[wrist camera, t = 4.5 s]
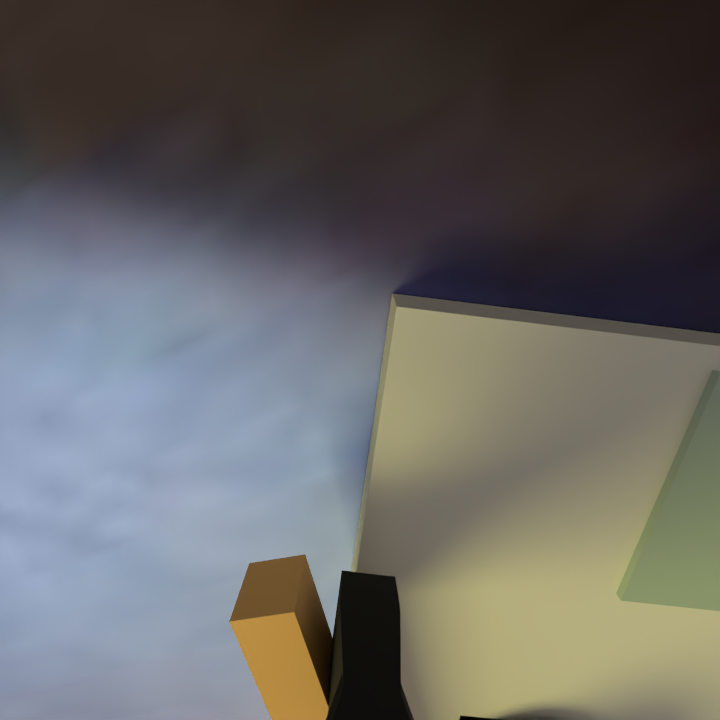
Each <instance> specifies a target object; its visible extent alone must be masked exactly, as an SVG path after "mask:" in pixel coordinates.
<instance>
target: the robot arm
mask: <svg viewBox="0 0 720 720" xmlns="http://www.w3.org/2000/svg"><path fill="white" fill-rule="evenodd" d="M326 720H414V718H413V716H412V713H411V710H410V708H409V705H408V702H407V699H406V696H405V694H404V691H403V688H402V685H401V630H400V604H399V597H398V590H397V585H396V579H395V577H394V576H385V575H376V574H368V573H359V572H350V571H342V574H341V581H340V589H339V596H338V603H337V611H336V618H335V625H334V633H333V644H332V655H331V666H330V677H329V709H328V715H327V718H326Z"/></svg>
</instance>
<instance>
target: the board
mask: <svg viewBox="0 0 720 720" xmlns="http://www.w3.org/2000/svg"><path fill="white" fill-rule="evenodd" d="M352 572H359V573H368V574H376V575H385V576H394V577H395V579H396V585H397V590H398V597H399V604H400V630H401V685H402V688H403V691H404V694H405V696H406V699H407V702H408V705H409V708H410V710H411V713H412V716H413V718H414V720H459V719H460V715H461V716H471V717H481V718H491V719H501V720H720V334H718V333H710V332H702V331H694V330H686V329H677V328H669V327H661V326H653V325H645V324H637V323H629V322H621V321H612V320H604V319H596V318H588V317H580V316H572V315H564V314H555V313H547V312H539V311H531V310H523V309H515V308H507V307H499V306H490V305H482V304H474V303H466V302H458V301H450V300H442V299H433V298H425V297H417V296H409V295H401V294H393V293H392V298H391V305H390V312H389V319H388V325H387V332H386V339H385V346H384V353H383V360H382V367H381V373H380V380H379V387H378V394H377V401H376V408H375V415H374V421H373V428H372V435H371V442H370V449H369V456H368V462H367V469H366V476H365V483H364V490H363V497H362V504H361V510H360V517H359V524H358V531H357V538H356V545H355V552H354V558H353V565H352Z"/></svg>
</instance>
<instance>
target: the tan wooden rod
mask: <svg viewBox="0 0 720 720" xmlns="http://www.w3.org/2000/svg"><path fill="white" fill-rule="evenodd" d="M229 622H230V624H231V626H232V629H233V631H234V633H235V636H236V638H237V640H238V642H239V645H240V647H241V649H242V652H243V654H244V656H245V659H246V661H247V663H248V666H249V668H250V670H251V673H252V675H253V677H254V679H255V682H256V684H257V686H258V689H259V691H260V693H261V696H262V698H263V700H264V703H265V705H266V707H267V709H268V712H269V714H270V716H271V719H272V720H326V718H327V715H328V709H329V677H330V666H331V655H332V644H333V639H332V636H331V632H330V629H329V626H328V623H327V620H326V617H325V614H324V611H323V608H322V605H321V602H320V599H319V596H318V593H317V590H316V587H315V584H314V581H313V578H312V575H311V572H310V568H309V565H308V562H307V559H306V556H305V555H299V556H293V557H287V558H280V559H274V560H268V561H261V562H255V563H249V566H248V569H247V572H246V575H245V578H244V581H243V584H242V587H241V590H240V592H239V595H238V598H237V601H236V604H235V607H234V610H233V613H232V616H231V619H230V621H229Z"/></svg>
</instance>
